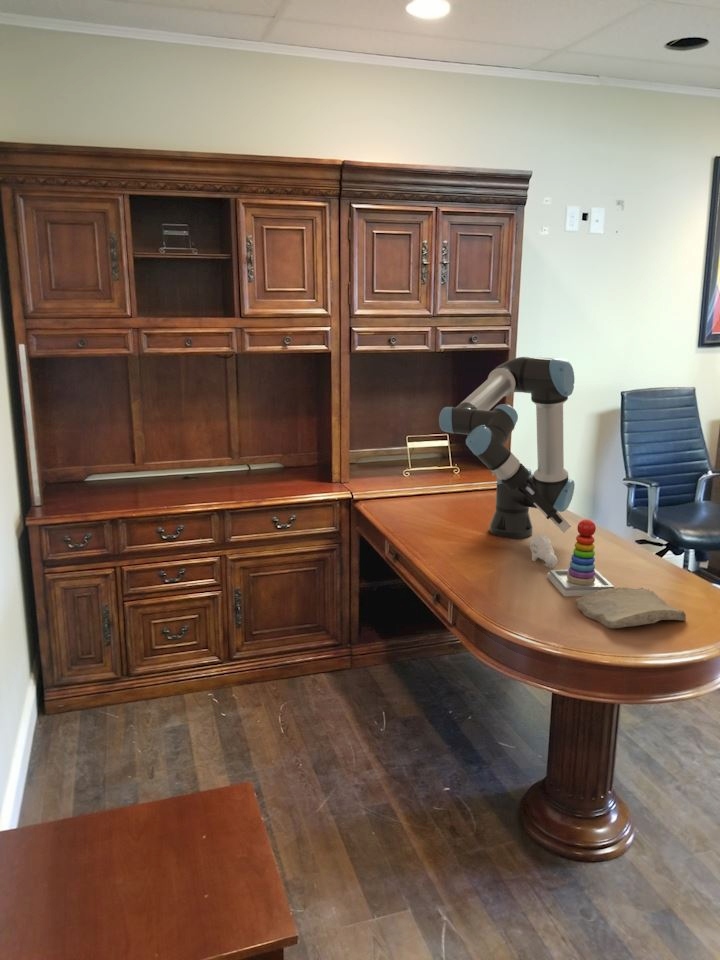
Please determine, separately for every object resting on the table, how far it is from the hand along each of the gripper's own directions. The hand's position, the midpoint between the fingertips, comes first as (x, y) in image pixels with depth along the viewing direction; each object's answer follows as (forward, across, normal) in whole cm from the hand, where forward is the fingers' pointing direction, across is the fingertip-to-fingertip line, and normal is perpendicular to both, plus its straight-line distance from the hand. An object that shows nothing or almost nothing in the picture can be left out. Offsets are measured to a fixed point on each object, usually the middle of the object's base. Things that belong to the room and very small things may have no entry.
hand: (559, 522), depth 211 cm
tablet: (+24, +22, -5) cm, 33 cm away
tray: (+20, 0, -8) cm, 21 cm away
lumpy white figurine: (+17, -20, -12) cm, 28 cm away
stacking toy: (+19, 0, -7) cm, 20 cm away
